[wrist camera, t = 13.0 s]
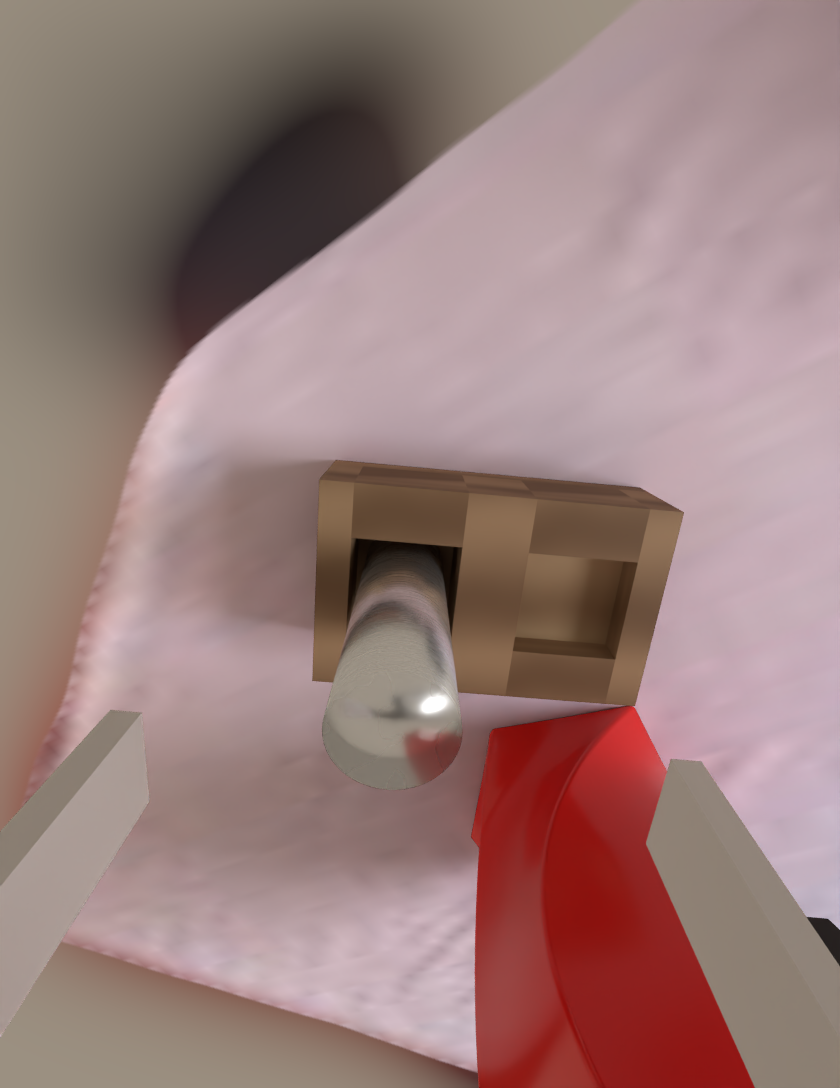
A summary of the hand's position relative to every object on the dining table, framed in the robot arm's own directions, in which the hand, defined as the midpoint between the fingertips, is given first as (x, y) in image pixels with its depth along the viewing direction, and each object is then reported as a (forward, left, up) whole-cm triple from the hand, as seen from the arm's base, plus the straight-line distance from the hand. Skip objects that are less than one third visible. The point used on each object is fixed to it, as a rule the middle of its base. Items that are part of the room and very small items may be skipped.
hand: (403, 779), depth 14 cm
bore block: (0, +4, -17) cm, 17 cm away
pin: (0, 0, -16) cm, 16 cm away
